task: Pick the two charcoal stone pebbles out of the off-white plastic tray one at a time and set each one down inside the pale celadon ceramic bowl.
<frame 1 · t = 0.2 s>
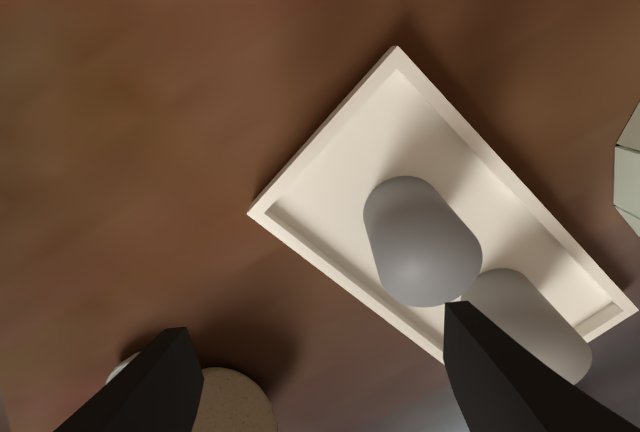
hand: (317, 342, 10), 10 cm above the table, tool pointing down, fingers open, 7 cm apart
parts tray: (447, 252, 20), on the table
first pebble: (402, 212, 18), point 1 cm above the table, touching parts tray
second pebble: (495, 297, 21), point 1 cm above the table, touching parts tray
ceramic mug: (196, 390, 25), on the table
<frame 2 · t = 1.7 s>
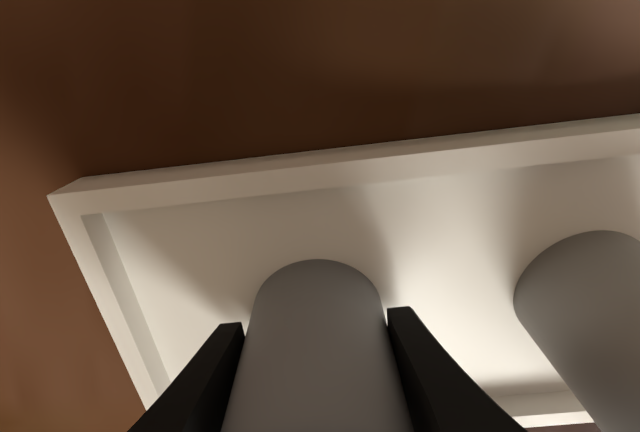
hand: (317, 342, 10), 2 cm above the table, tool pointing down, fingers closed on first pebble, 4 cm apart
parts tray: (441, 290, 11), on the table
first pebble: (317, 314, 11), point 1 cm above the table, touching gripper, parts tray
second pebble: (580, 289, 11), point 1 cm above the table, touching parts tray
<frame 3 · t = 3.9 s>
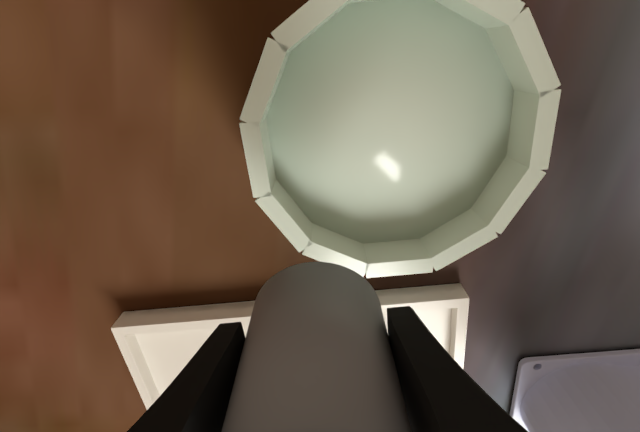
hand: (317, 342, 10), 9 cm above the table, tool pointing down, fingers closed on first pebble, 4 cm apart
parts tray: (299, 360, 23), on the table
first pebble: (317, 316, 11), point 8 cm above the table, touching gripper
celadon bowl: (386, 134, 17), on the table
when the fingers open (3 cm above the table, at t = 6.0 s): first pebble drops 1 cm, resting on celadon bowl.
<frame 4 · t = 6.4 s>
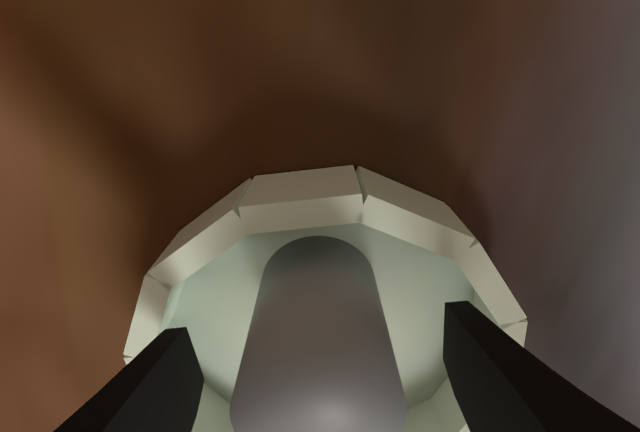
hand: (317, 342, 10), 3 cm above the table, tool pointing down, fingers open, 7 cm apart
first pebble: (318, 285, 13), point 1 cm above the table, touching celadon bowl
celadon bowl: (324, 322, 14), on the table
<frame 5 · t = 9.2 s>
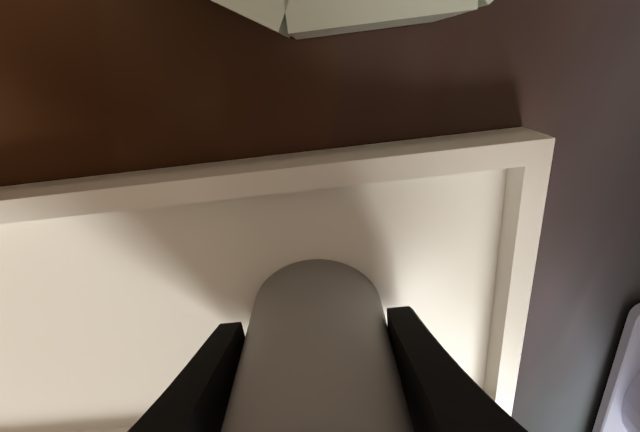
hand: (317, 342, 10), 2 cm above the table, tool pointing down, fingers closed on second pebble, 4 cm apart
parts tray: (198, 313, 12), on the table
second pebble: (317, 314, 11), point 1 cm above the table, touching gripper, parts tray
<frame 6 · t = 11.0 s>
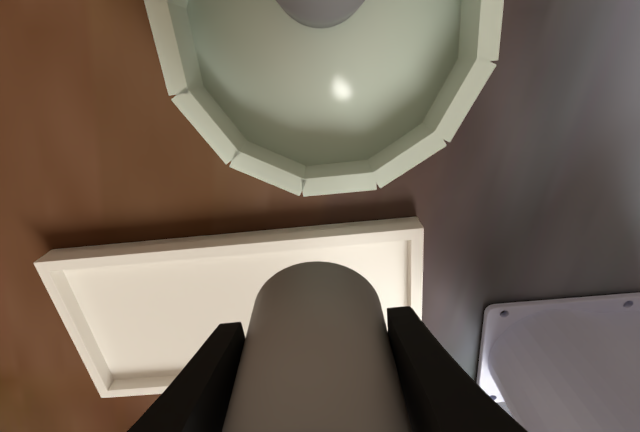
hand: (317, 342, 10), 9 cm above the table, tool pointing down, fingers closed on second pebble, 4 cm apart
parts tray: (247, 307, 21), on the table
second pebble: (317, 315, 11), point 8 cm above the table, touching gripper
celadon bowl: (325, 34, 15), on the table
when the fingers open (3 cm above the table, at t = 12.9 s): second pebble drops 2 cm, resting on celadon bowl.
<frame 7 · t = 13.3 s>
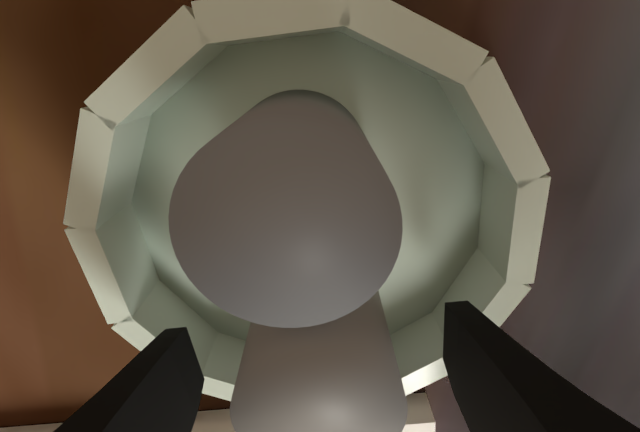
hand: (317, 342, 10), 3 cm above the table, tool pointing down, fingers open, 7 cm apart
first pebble: (300, 159, 11), point 1 cm above the table, touching celadon bowl
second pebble: (318, 285, 13), point 1 cm above the table, touching celadon bowl
celadon bowl: (310, 217, 12), on the table
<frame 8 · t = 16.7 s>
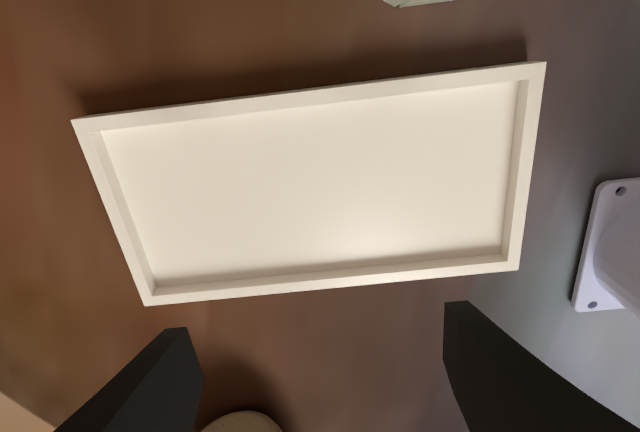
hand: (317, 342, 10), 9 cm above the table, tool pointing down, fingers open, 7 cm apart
parts tray: (315, 191, 18), on the table
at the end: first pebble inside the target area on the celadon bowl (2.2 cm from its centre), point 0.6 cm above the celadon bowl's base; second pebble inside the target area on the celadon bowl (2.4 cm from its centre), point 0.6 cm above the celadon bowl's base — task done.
